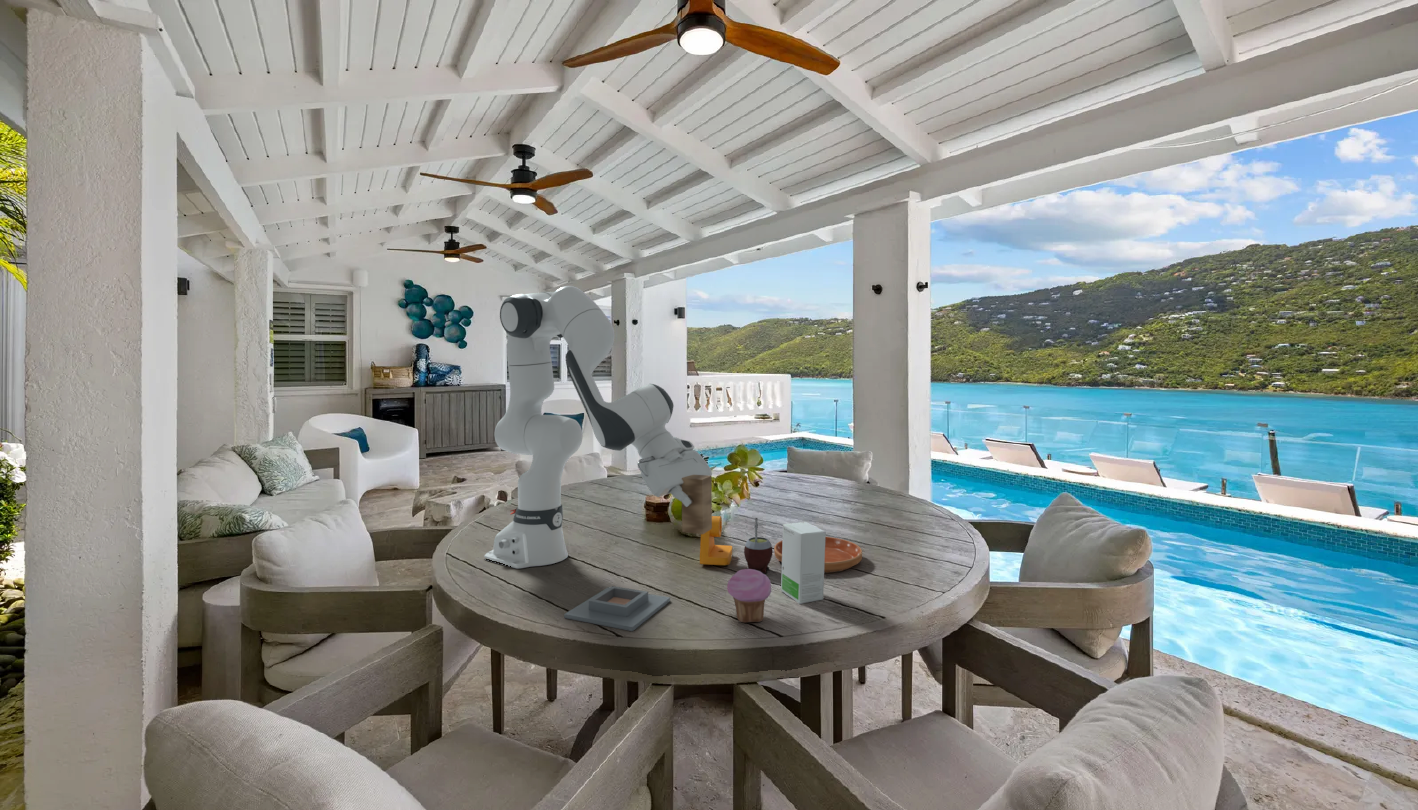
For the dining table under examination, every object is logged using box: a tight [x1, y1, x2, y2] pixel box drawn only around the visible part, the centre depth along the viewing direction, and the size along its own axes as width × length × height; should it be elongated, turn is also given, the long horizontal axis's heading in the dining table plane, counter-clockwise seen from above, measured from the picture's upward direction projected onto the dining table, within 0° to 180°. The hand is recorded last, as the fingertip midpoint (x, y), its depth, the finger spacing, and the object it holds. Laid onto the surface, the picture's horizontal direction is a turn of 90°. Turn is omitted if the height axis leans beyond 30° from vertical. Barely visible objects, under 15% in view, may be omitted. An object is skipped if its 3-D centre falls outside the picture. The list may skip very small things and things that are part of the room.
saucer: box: [773, 536, 863, 574], centre depth 152 cm, size 23×23×4 cm
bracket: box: [699, 515, 733, 566], centre depth 152 cm, size 11×7×12 cm, turn 171°
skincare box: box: [780, 521, 827, 605], centre depth 127 cm, size 8×7×16 cm
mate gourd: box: [743, 517, 774, 576], centre depth 143 cm, size 8×8×15 cm
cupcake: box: [726, 568, 772, 623], centre depth 115 cm, size 9×9×10 cm
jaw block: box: [681, 475, 713, 535], centre depth 127 cm, size 5×5×12 cm
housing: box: [564, 585, 671, 632], centre depth 121 cm, size 16×16×3 cm
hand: (699, 501), depth 127 cm, fingers closed on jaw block, 5 cm apart
